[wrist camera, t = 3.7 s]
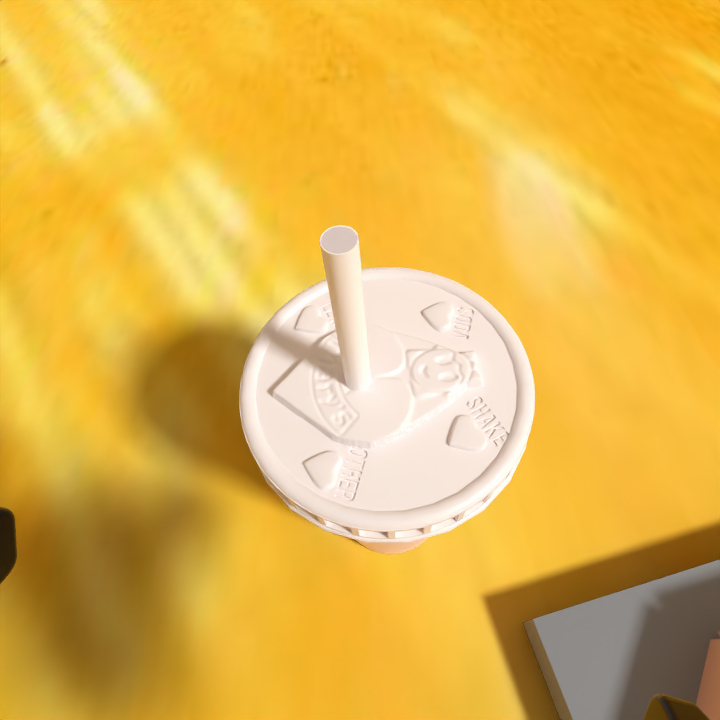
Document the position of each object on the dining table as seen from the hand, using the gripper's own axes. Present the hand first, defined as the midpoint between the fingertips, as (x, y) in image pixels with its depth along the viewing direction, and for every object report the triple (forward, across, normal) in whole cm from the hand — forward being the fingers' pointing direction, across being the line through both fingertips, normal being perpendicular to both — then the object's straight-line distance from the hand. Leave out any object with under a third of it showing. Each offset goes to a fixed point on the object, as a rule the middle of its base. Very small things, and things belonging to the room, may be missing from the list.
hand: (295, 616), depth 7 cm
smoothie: (+12, 0, +5) cm, 13 cm away
